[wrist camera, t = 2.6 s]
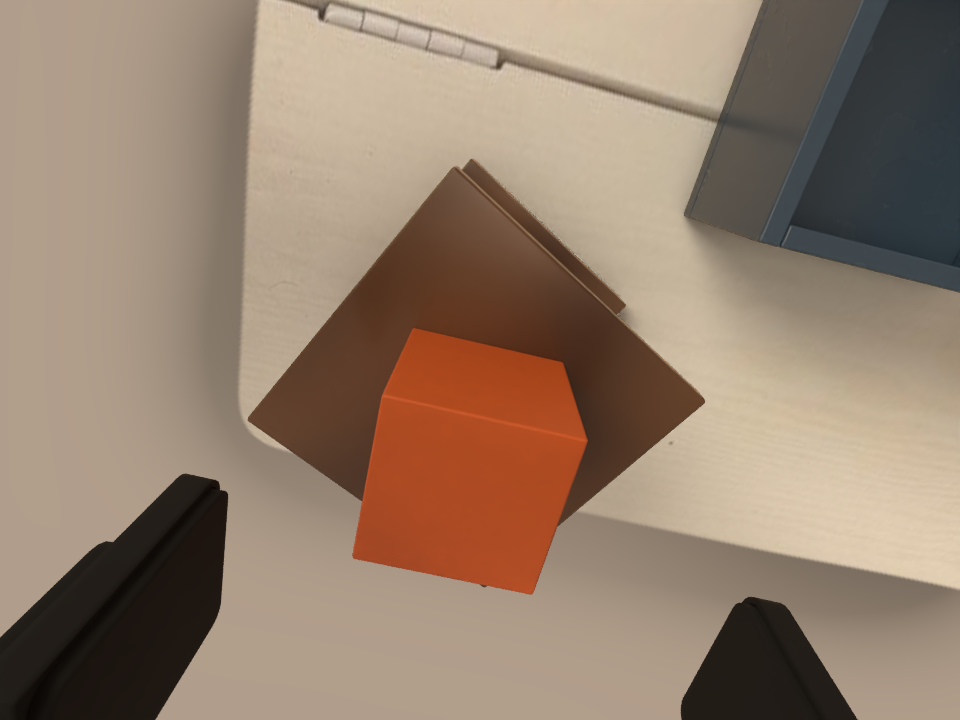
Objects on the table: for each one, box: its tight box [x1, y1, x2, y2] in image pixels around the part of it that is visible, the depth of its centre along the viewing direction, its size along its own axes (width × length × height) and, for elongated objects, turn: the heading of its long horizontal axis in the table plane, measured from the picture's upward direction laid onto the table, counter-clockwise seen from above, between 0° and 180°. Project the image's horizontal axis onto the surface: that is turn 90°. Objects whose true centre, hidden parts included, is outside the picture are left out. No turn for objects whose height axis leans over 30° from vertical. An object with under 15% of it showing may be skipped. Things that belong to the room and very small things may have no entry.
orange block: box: [352, 328, 588, 594], centre depth 14 cm, size 4×4×4 cm
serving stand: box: [248, 159, 705, 587], centre depth 22 cm, size 10×10×12 cm
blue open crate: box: [684, 0, 960, 293], centre depth 20 cm, size 14×14×8 cm
